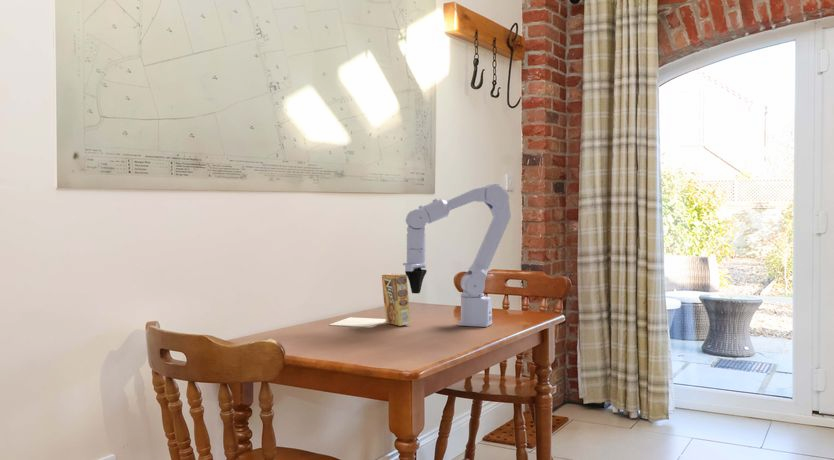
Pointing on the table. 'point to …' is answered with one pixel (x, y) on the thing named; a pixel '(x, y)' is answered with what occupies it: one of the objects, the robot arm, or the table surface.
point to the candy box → (396, 299)
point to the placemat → (359, 322)
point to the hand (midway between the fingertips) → (415, 293)
